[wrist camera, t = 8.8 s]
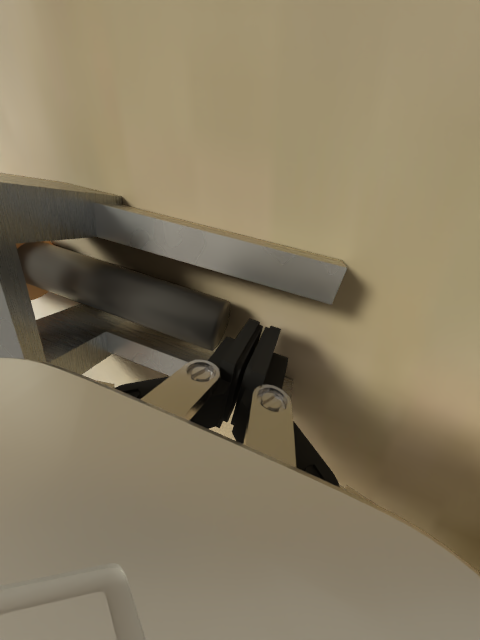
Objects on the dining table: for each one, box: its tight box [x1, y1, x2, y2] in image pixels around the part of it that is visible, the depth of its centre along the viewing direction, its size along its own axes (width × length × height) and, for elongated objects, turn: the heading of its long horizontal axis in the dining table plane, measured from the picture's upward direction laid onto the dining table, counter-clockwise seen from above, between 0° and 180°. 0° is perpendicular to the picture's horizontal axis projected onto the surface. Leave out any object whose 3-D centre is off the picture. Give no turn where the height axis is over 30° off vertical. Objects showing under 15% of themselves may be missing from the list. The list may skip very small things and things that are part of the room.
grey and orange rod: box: [16, 241, 230, 351], centre depth 13 cm, size 19×4×4 cm, turn 78°
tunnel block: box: [0, 173, 347, 399], centre depth 11 cm, size 16×10×6 cm, turn 78°
